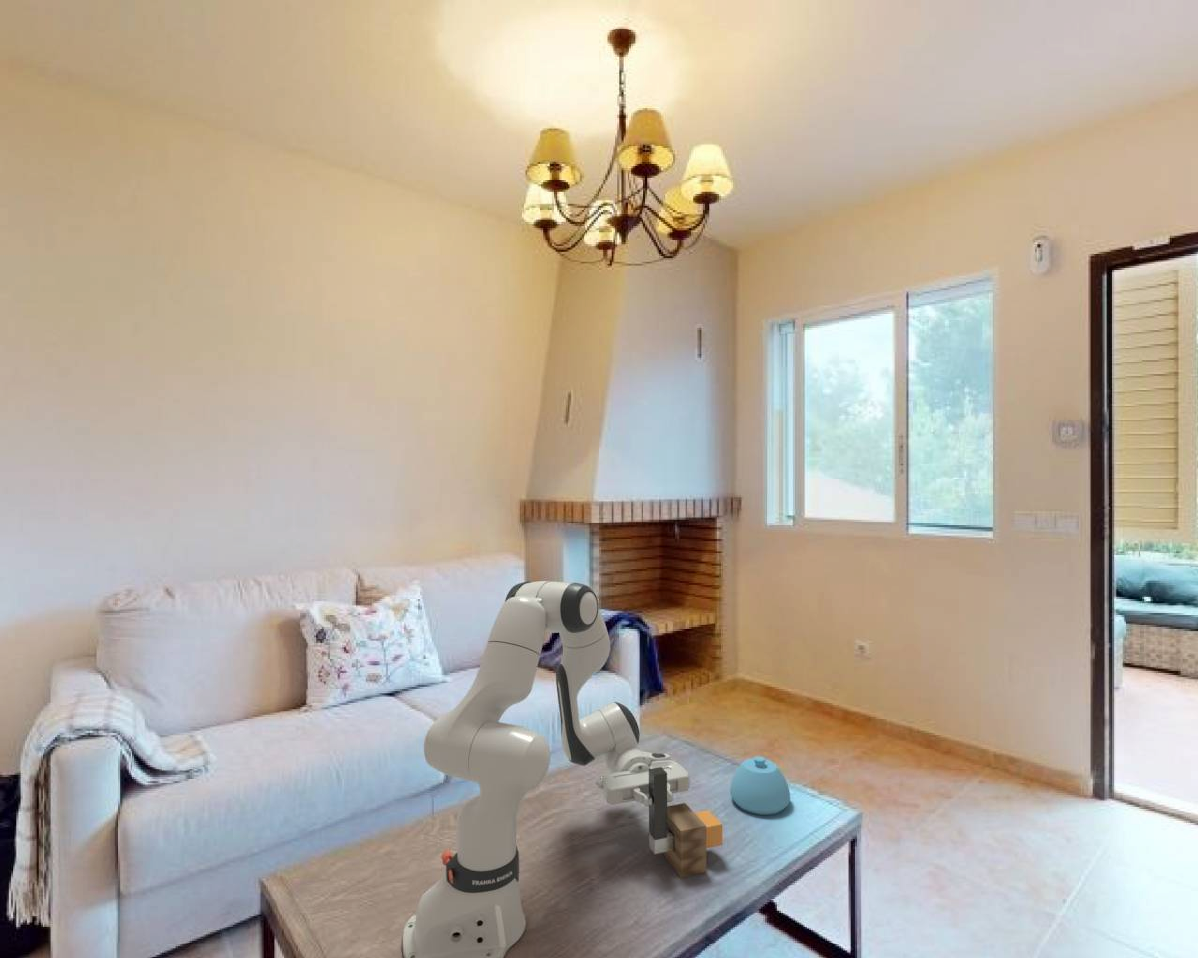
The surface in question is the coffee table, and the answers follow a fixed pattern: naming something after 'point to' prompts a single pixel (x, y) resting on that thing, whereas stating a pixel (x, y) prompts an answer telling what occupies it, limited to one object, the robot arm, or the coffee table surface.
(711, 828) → the block
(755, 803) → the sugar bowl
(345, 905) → the coffee table surface
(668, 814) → the bearing block
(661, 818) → the grey l-shaped piece
